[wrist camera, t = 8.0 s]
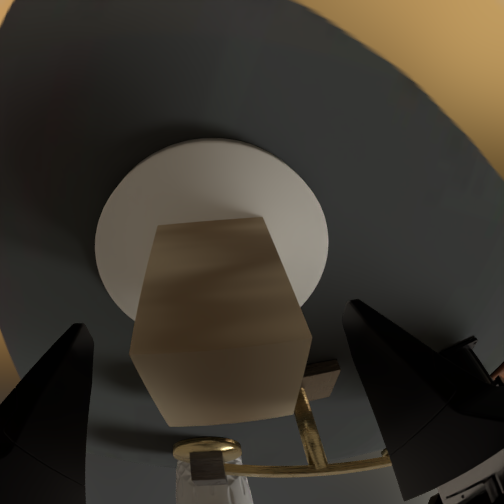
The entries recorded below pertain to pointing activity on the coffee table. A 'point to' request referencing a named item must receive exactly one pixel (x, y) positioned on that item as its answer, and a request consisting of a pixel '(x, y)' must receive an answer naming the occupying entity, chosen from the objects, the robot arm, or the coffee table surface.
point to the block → (219, 325)
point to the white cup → (211, 488)
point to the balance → (223, 450)
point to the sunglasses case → (498, 372)
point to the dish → (208, 211)
